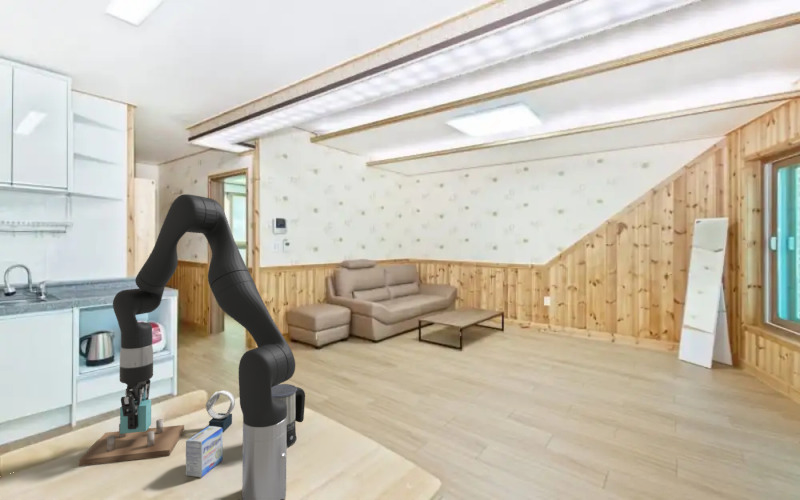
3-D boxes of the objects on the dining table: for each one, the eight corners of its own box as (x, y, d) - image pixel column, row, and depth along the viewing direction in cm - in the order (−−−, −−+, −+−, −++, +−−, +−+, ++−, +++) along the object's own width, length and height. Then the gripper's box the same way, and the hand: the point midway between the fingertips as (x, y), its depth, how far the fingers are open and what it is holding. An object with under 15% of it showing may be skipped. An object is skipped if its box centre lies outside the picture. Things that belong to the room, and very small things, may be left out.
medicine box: (201, 478, 91) (201, 442, 91) (185, 476, 92) (185, 440, 92) (223, 460, 99) (223, 426, 99) (207, 457, 100) (208, 425, 100)
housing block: (151, 424, 107) (151, 399, 107) (145, 431, 103) (146, 405, 103) (126, 426, 106) (126, 401, 105) (120, 433, 102) (120, 407, 102)
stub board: (184, 429, 114) (184, 413, 114) (169, 455, 101) (169, 436, 100) (105, 437, 109) (105, 420, 109) (78, 465, 95) (78, 446, 95)
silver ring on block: (211, 423, 119) (212, 387, 118) (237, 423, 118) (237, 388, 118) (202, 432, 113) (202, 394, 113) (229, 432, 113) (229, 395, 113)
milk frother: (287, 452, 103) (287, 397, 103) (233, 446, 106) (234, 392, 105) (308, 427, 117) (309, 379, 117) (260, 422, 120) (261, 375, 120)
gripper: (142, 369, 98) (142, 436, 99) (161, 353, 112) (160, 411, 112) (108, 371, 96) (108, 439, 97) (131, 355, 110) (131, 414, 110)
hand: (136, 424), depth 105 cm, fingers closed on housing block, 4 cm apart
